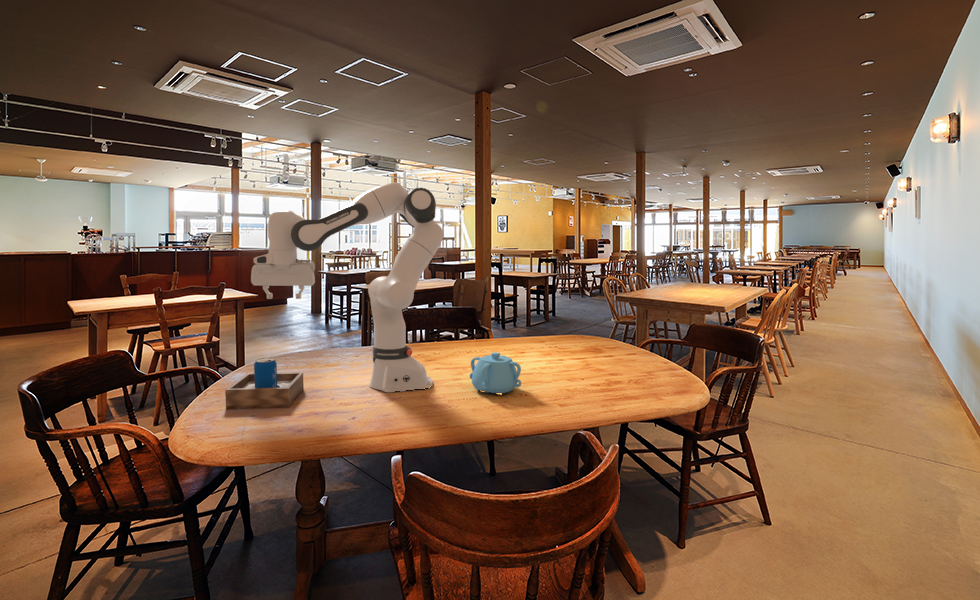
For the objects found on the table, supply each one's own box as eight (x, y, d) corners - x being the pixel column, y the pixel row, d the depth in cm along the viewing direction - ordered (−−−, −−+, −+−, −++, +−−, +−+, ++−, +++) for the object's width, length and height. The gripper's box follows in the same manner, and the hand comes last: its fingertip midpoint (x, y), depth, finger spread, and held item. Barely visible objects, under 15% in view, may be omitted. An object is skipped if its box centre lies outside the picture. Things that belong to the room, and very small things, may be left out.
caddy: (303, 389, 159) (303, 372, 159) (289, 407, 142) (288, 388, 141) (247, 390, 157) (247, 373, 156) (226, 409, 139) (225, 389, 138)
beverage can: (269, 400, 145) (267, 362, 144) (250, 398, 146) (249, 361, 145) (281, 393, 151) (280, 357, 150) (263, 392, 152) (262, 356, 151)
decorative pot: (510, 383, 174) (511, 347, 172) (523, 396, 158) (524, 357, 156) (468, 384, 170) (468, 348, 168) (476, 398, 154) (477, 358, 153)
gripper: (316, 258, 163) (317, 297, 165) (255, 257, 160) (256, 297, 162) (312, 259, 157) (313, 299, 159) (248, 258, 154) (250, 299, 155)
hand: (284, 298), depth 160 cm, fingers open, 8 cm apart
